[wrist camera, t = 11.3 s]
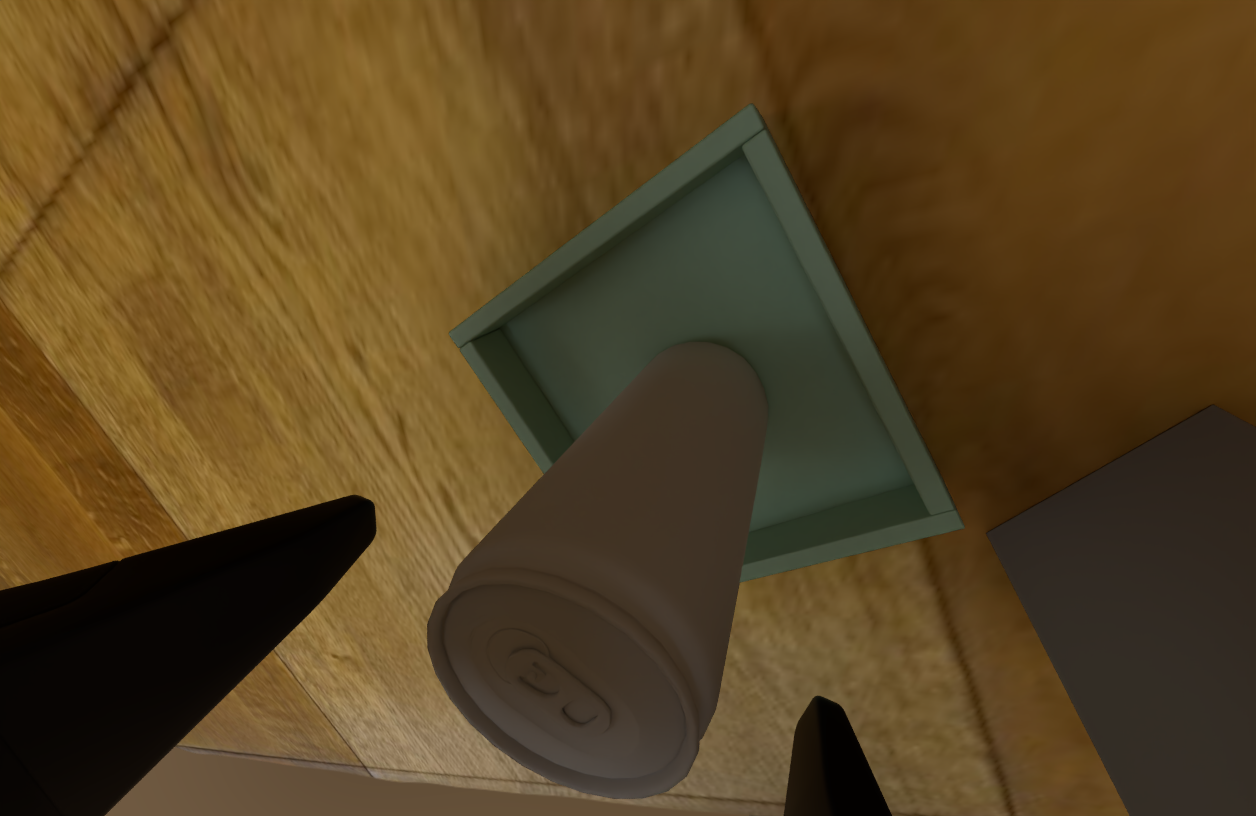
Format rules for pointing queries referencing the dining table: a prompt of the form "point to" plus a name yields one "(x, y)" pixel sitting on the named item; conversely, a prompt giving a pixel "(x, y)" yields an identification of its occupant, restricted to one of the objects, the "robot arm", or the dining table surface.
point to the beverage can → (614, 584)
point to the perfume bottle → (1155, 613)
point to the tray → (731, 317)
